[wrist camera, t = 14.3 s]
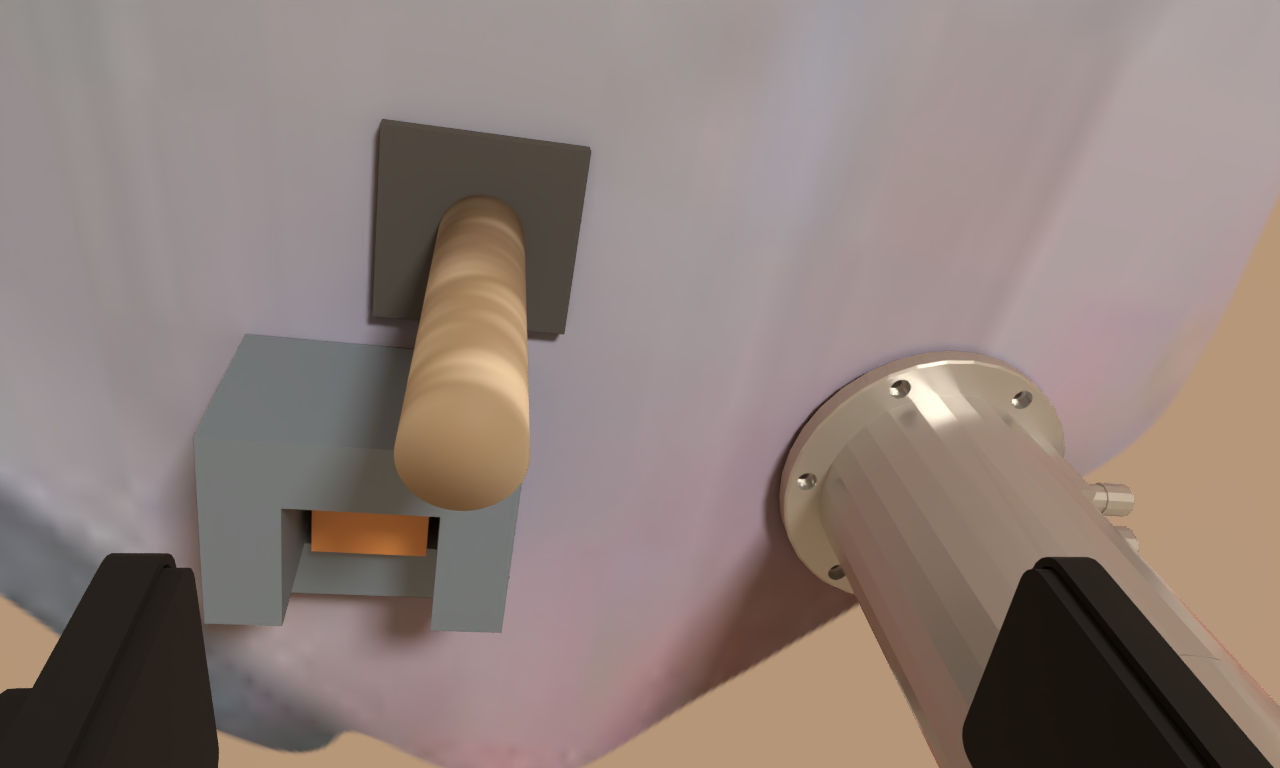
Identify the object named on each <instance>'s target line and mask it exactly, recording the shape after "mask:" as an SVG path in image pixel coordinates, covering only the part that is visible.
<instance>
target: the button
mask: <svg viewBox="0 0 1280 768" xmlns="http://www.w3.org/2000/svg"><path fill="white" fill-rule="evenodd" d="M428 528H429V517H428V516H410V515H391V514H373V513H355V512H336V511H318V510H312V542H311V551H319V552H341V553H363V554H384V555H406V556H426V549H427V538H428Z"/></svg>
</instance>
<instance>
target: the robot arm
mask: <svg viewBox="0 0 1280 768" xmlns="http://www.w3.org/2000/svg"><path fill="white" fill-rule="evenodd" d="M1064 456H1065V443H1064V436H1063V429H1062V425H1061V422H1060V420H1059V418H1058V415H1057V413H1056V411H1055V408H1054V406H1053V405H1052V404H1051V402H1050V401H1049V400H1048V399H1047V397H1046V396H1045V395H1044V393H1043V392H1042V391H1041V390H1040V389H1039V388H1038V387H1037V386H1036V385H1035V384H1034V383H1033V382H1032V381H1031V380H1030V379H1029V378H1028V377H1026V376H1025V375H1024V374H1023V373H1022V372H1020V371H1019V370H1017V369H1015V368H1014V367H1012V366H1010V365H1008V364H1007V363H1005V362H1003V361H1001V360H998V359H995V358H991V357H988V356H985V355H982V354H978V353H969V352H959V351H943V352H931V353H922V354H918V355H914V356H910V357H906V358H902V359H898V360H895V361H892V362H890V363H888V364H885V365H883V366H881V367H878V368H876V369H874V370H872V371H869V372H867V373H866V374H864V375H862V376H861V377H859V378H858V379H856V380H854V381H853V382H851V383H850V384H848V385H846V386H845V387H843V388H842V389H841V390H840V391H838V392H837V393H836V394H835V395H834V396H833V397H831V398H830V399H829V400H828V401H827V402H826V403H825V404H823V405H822V406H821V407H820V408H819V409H818V411H817V412H816V413H815V414H814V415H813V417H812V418H811V419H810V420H809V421H808V423H807V424H806V425H805V426H804V427H803V429H802V431H801V432H800V434H799V436H798V437H797V439H796V441H795V443H794V444H793V446H792V448H791V450H790V452H789V454H788V457H787V460H786V463H785V466H784V469H783V472H782V476H781V484H780V492H779V503H780V512H781V519H782V522H783V525H784V527H785V530H786V533H787V535H788V538H789V540H790V542H791V544H792V546H793V548H794V550H795V552H796V554H797V556H798V558H799V559H800V560H801V561H802V562H803V563H804V564H805V566H806V567H807V568H808V569H809V570H810V571H811V572H812V573H813V574H814V575H815V576H817V577H818V578H820V579H821V580H822V581H824V582H825V583H827V584H828V585H830V586H833V587H835V588H838V589H840V590H842V591H845V592H847V593H850V594H854V595H855V596H856V598H857V600H858V602H859V604H860V606H861V608H862V610H863V612H864V614H865V616H866V618H867V620H868V622H869V624H870V627H871V629H872V631H873V633H874V635H875V637H876V639H877V641H878V643H879V645H880V647H881V649H882V651H883V653H884V655H885V658H886V660H887V661H888V663H889V666H890V668H891V670H892V672H893V674H894V676H895V678H896V680H897V682H898V684H899V686H900V688H901V690H902V692H903V694H904V697H905V698H906V701H907V703H908V705H909V707H910V709H911V711H912V713H913V715H914V717H915V719H916V721H917V723H918V725H919V727H920V729H921V731H922V734H923V736H924V738H925V740H926V742H927V744H928V746H929V748H930V750H931V752H932V754H933V756H934V758H935V760H936V762H937V764H938V766H939V768H1280V706H1279V705H1278V704H1277V703H1276V702H1275V701H1274V700H1273V699H1272V698H1271V697H1270V695H1268V693H1267V692H1266V691H1265V690H1264V689H1263V688H1262V687H1261V686H1260V685H1259V684H1258V682H1257V681H1256V680H1255V679H1254V678H1253V677H1252V676H1251V675H1250V674H1249V673H1248V672H1247V671H1246V670H1245V669H1244V668H1243V667H1242V665H1241V664H1240V663H1239V662H1238V661H1237V660H1236V659H1235V658H1234V657H1233V655H1232V654H1230V652H1229V651H1228V650H1227V649H1226V648H1225V647H1224V646H1223V645H1222V643H1221V642H1219V640H1218V639H1217V638H1216V637H1215V636H1214V635H1213V634H1212V633H1211V632H1210V630H1209V629H1207V627H1206V626H1205V625H1204V624H1203V623H1202V622H1201V621H1200V620H1199V619H1198V617H1196V615H1195V614H1194V613H1193V612H1192V611H1191V610H1190V609H1189V608H1188V607H1187V605H1186V604H1185V603H1184V602H1183V601H1182V600H1181V599H1180V598H1179V597H1178V596H1177V595H1176V593H1175V592H1174V591H1173V590H1172V589H1171V588H1170V587H1169V586H1168V585H1167V584H1166V583H1165V581H1164V580H1163V579H1162V578H1161V577H1160V576H1159V575H1158V574H1157V573H1156V572H1155V571H1154V569H1152V568H1151V566H1150V565H1149V564H1148V563H1147V562H1146V561H1145V560H1144V559H1143V557H1142V556H1140V554H1139V546H1138V540H1137V538H1136V536H1135V534H1134V533H1133V531H1132V530H1130V529H1129V528H1127V527H1125V526H1113V525H1112V524H1111V523H1110V522H1109V521H1108V519H1107V518H1106V517H1105V516H1104V515H1106V516H1127V515H1128V514H1129V513H1130V512H1131V511H1132V509H1133V505H1134V496H1133V493H1132V491H1131V489H1130V488H1129V487H1128V486H1126V485H1123V484H1109V483H1096V484H1088V483H1087V482H1086V481H1085V480H1084V479H1083V478H1082V477H1081V476H1080V475H1079V474H1078V472H1077V471H1076V470H1075V469H1074V468H1073V467H1072V466H1071V465H1070V464H1069V463H1068V462H1067V461H1066V460H1065V459H1064ZM218 760H219V747H218V739H217V731H216V724H215V717H214V710H213V703H212V696H211V689H210V682H209V675H208V668H207V661H206V654H205V647H204V640H203V633H202V626H201V618H200V611H199V604H198V597H197V590H196V583H195V577H194V573H193V571H192V569H191V568H176V564H175V560H174V558H173V557H172V555H170V554H161V553H111V554H109V555H108V556H106V557H105V559H104V560H103V561H102V563H101V564H100V566H99V568H98V570H97V572H96V574H95V575H94V577H93V579H92V581H91V583H90V584H89V586H88V588H87V590H86V592H85V593H84V595H83V597H82V599H81V601H80V603H79V604H78V606H77V608H76V610H75V612H74V613H73V615H72V617H71V619H70V621H69V622H68V624H67V626H66V628H65V630H64V631H63V633H62V635H61V637H60V639H59V641H58V643H57V644H56V646H55V648H54V650H53V651H52V653H51V655H50V657H49V659H48V661H47V662H46V664H45V666H44V668H43V670H42V671H41V673H40V675H39V677H38V679H37V680H36V682H35V684H34V686H33V688H16V689H7V690H5V691H4V692H3V693H1V694H0V768H218Z"/></svg>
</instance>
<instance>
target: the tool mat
mask: <svg viewBox="0 0 1280 768" xmlns="http://www.w3.org/2000/svg"><path fill="white" fill-rule="evenodd" d="M590 156H591V150H590V147H586V146H579V145H571V144H564V143H556V142H549V141H542V140H534V139H527V138H519V137H512V136H505V135H497V134H490V133H482V132H475V131H468V130H460V129H453V128H445V127H438V126H431V125H423V124H416V123H408V122H401V121H394V120H386V119H382V121H381V123H380V146H379V170H378V194H377V218H376V242H375V266H374V290H373V314H372V316H375V317H386V318H397V319H407V320H418V321H420V318H421V313H422V308H423V303H424V298H425V293H426V288H427V283H428V278H429V273H430V269H431V264H432V259H433V254H434V249H435V244H436V239H437V234H438V229H439V225H440V221H441V219H442V217H443V215H444V213H445V212H446V210H447V209H448V208H449V207H450V206H451V205H452V204H453V203H455V202H457V201H458V200H460V199H462V198H465V197H468V196H472V195H487V196H492V197H495V198H498V199H500V200H502V201H504V202H505V203H507V204H508V205H509V206H511V207H512V208H513V209H514V210H515V212H516V213H517V214H518V216H519V218H520V219H521V222H522V224H523V228H524V234H525V270H526V312H527V331H534V332H544V333H555V334H564V332H565V326H566V319H567V312H568V305H569V298H570V292H571V285H572V278H573V271H574V265H575V258H576V251H577V244H578V238H579V231H580V224H581V217H582V210H583V204H584V197H585V190H586V183H587V177H588V170H589V163H590Z"/></svg>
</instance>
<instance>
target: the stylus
mask: <svg viewBox="0 0 1280 768" xmlns="http://www.w3.org/2000/svg"><path fill="white" fill-rule="evenodd" d="M394 462H395V467H396V470H397V472H398V475H399V477H400V478H401V480H402V482H403V483H404V484H405V486H406V487H407V488H408V489H409V490H410V491H411V492H412V493H413V494H414V495H416V496H417V497H418V498H420V499H421V500H423V501H425V502H427V503H429V504H431V505H433V506H436V507H439V508H443V509H447V510H454V511H471V510H478V509H483V508H486V507H489V506H492V505H494V504H497V503H499V502H500V501H502V500H504V499H506V498H507V497H508V496H509V495H511V494H512V493H513V492H514V491H515V490H516V489H517V488H518V487H519V485H520V484H521V483H522V481H523V479H524V478H525V476H526V473H527V470H528V467H529V462H530V437H529V395H528V354H527V312H526V270H525V234H524V228H523V224H522V222H521V219H520V218H519V216H518V214H517V213H516V212H515V210H514V209H513V208H512V207H511V206H509V205H508V204H507V203H505V202H504V201H502V200H500V199H498V198H495V197H492V196H487V195H472V196H468V197H465V198H462V199H460V200H458V201H457V202H455V203H453V204H452V205H451V206H450V207H449V208H448V209H447V210H446V212H445V213H444V215H443V217H442V219H441V221H440V225H439V229H438V234H437V239H436V244H435V249H434V254H433V259H432V264H431V269H430V273H429V278H428V283H427V288H426V293H425V298H424V303H423V308H422V313H421V318H420V323H419V328H418V333H417V338H416V342H415V347H414V352H413V357H412V362H411V367H410V372H409V377H408V382H407V387H406V392H405V397H404V402H403V407H402V411H401V416H400V421H399V426H398V431H397V436H396V441H395V447H394Z"/></svg>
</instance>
